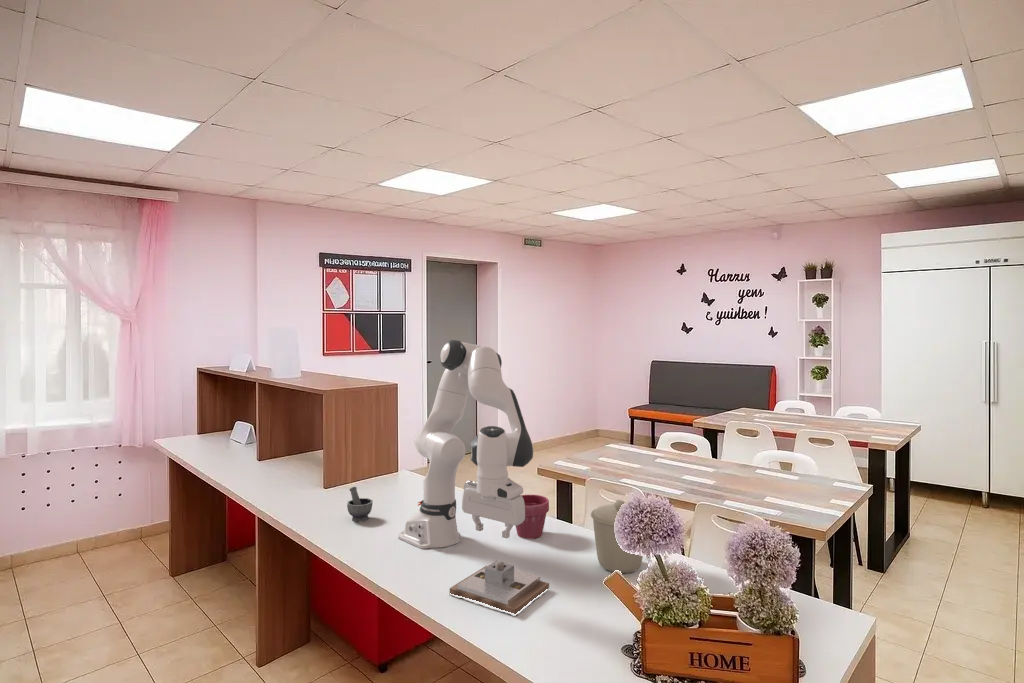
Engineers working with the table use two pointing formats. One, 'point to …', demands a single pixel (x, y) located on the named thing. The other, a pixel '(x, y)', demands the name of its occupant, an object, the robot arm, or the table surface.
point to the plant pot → (533, 516)
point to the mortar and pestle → (359, 506)
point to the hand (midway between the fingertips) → (492, 533)
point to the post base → (512, 608)
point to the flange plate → (499, 583)
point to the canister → (611, 541)
